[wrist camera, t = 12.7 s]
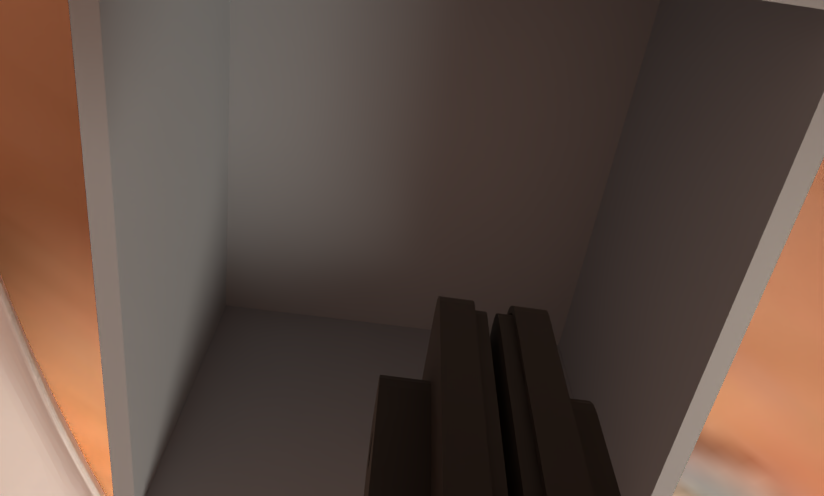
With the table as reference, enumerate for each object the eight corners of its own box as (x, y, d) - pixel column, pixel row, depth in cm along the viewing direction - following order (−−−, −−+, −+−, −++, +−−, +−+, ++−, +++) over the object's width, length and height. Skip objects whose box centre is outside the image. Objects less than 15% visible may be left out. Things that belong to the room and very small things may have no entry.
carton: (694, -75, 24) (899, -13, 14) (566, 349, 33) (633, 582, 23) (218, -149, 23) (55, -142, 13) (215, 307, 32) (117, 530, 22)
